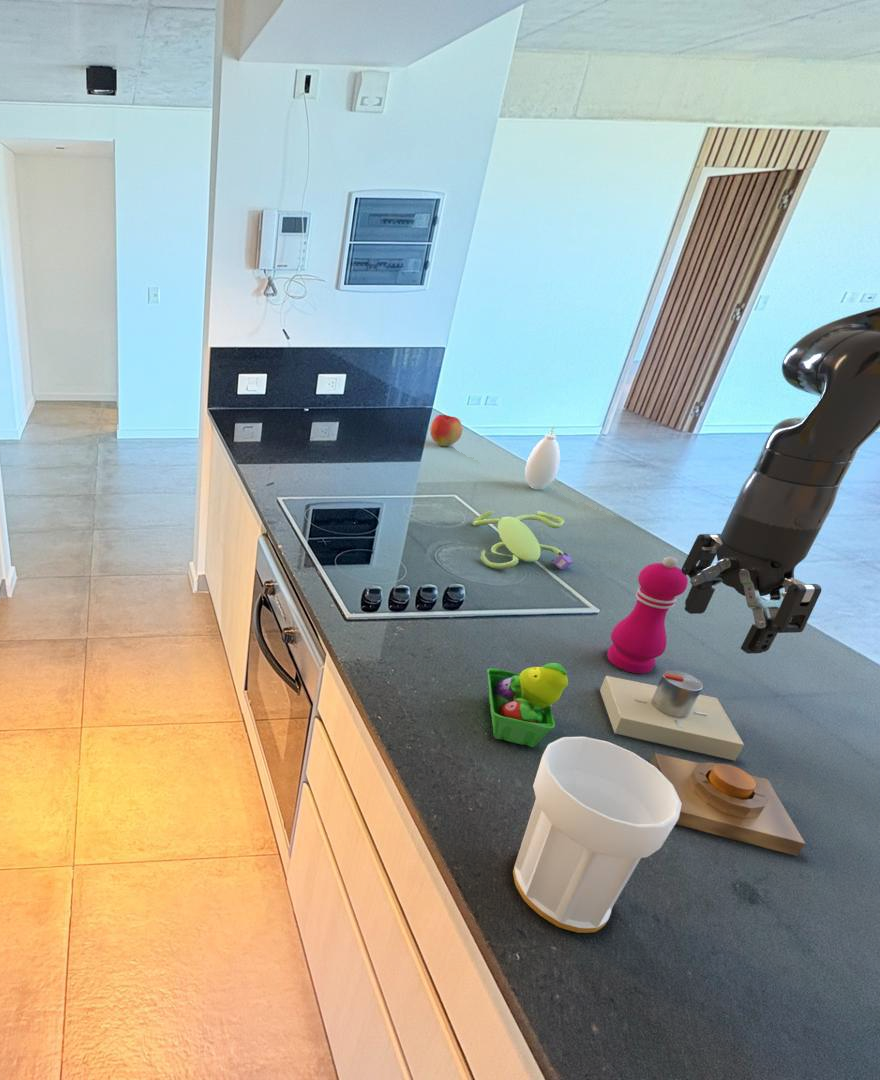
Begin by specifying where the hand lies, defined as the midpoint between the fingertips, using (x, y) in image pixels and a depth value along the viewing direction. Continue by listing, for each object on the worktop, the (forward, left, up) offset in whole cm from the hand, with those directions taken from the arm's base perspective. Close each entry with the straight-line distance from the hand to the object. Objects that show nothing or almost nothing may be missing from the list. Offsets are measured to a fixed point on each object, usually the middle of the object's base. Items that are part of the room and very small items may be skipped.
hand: (720, 630), depth 77 cm
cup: (+17, +29, -20) cm, 39 cm away
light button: (-3, +9, -16) cm, 19 cm away
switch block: (-3, +9, -20) cm, 22 cm away
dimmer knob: (-1, -6, -17) cm, 18 cm away
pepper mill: (0, -21, -20) cm, 29 cm away
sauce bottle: (+4, -103, -20) cm, 105 cm away
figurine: (+13, -61, -20) cm, 66 cm away
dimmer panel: (-1, -6, -20) cm, 21 cm away
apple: (+28, -135, -20) cm, 139 cm away
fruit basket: (+19, +2, -20) cm, 28 cm away
